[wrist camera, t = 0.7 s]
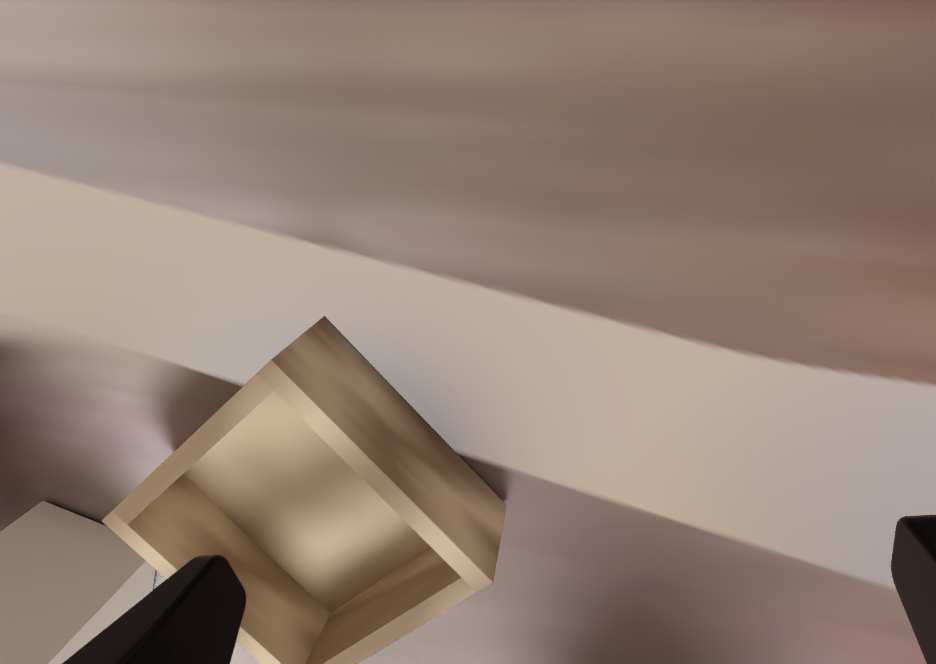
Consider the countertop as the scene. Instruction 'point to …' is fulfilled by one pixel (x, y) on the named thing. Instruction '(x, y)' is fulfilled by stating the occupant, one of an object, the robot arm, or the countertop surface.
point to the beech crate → (321, 508)
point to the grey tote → (63, 584)
